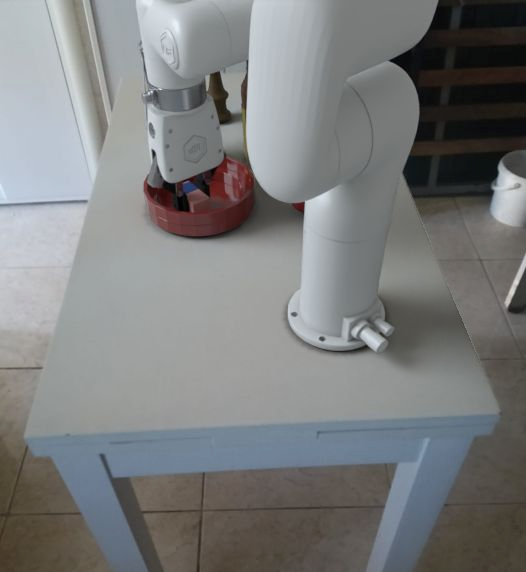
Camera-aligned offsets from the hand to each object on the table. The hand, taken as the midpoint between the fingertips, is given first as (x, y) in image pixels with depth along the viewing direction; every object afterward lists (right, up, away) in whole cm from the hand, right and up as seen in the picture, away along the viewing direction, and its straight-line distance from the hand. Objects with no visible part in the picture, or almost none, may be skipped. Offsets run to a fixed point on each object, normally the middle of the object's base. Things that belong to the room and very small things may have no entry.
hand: (192, 208), depth 90 cm
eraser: (0, 0, 0) cm, 0 cm away
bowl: (+1, +1, +2) cm, 3 cm away
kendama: (+2, +23, +22) cm, 32 cm away
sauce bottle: (+11, +11, +11) cm, 19 cm away
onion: (+18, -1, +1) cm, 18 cm away
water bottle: (-4, +11, +12) cm, 16 cm away
